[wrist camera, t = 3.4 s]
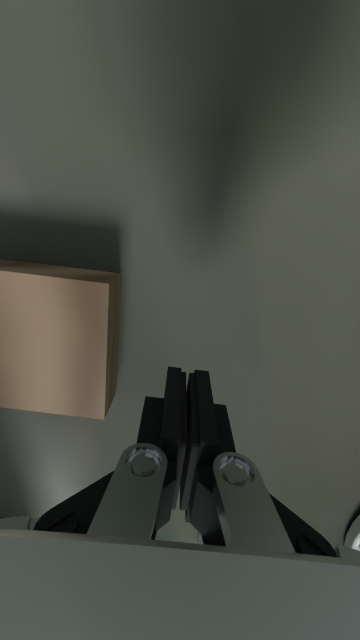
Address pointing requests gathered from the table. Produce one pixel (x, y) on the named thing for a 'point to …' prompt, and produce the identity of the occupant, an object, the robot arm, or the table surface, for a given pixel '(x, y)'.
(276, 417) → the table surface
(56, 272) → the panel
